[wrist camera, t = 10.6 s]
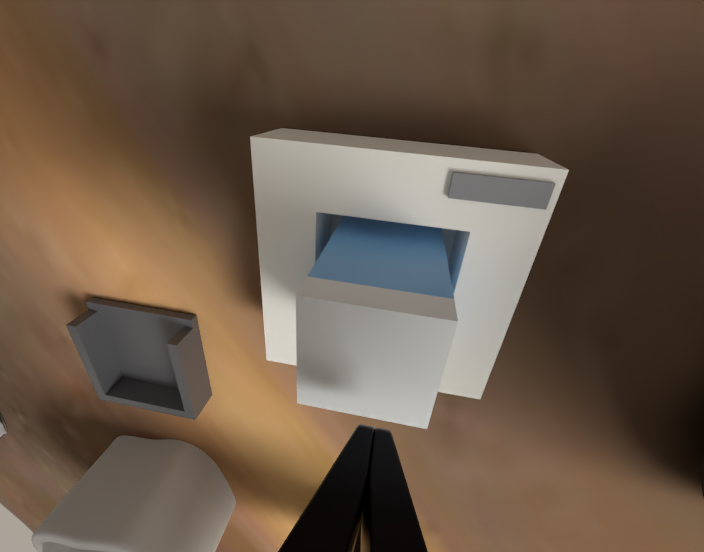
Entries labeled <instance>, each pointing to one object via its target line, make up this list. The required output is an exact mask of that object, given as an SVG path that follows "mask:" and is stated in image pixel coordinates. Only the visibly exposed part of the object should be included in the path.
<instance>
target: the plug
mask: <svg viewBox="0 0 704 552" xmlns="http://www.w3.org/2000/svg"><path fill="white" fill-rule="evenodd" d="M457 324H458V318H457V312H456V307H455V301H454V295H453V289H452V284H451V278H450V272H449V267H448V261H447V255H446V250H445V244H444V238H443V232H442V228H437V227H429V226H421V225H414V224H406V223H398V222H390V221H383V220H375V219H367V218H359V217H352V216H343V218H342V219H341V221H340V223H339V224H338V226H337V228H336V229H335V231H334V233H333V234H332V236H331V238H330V239H329V241H328V243H327V244H326V246H325V248H324V249H323V251H322V253H321V254H320V256H319V258H318V259H317V261H316V263H315V264H314V266H313V268H312V269H311V271H310V273H309V274H308V276H307V278H306V279H305V281H304V283H303V284H302V286H301V288H300V289H299V291H298V293H297V294H296V353H297V403H298V404H303V405H308V406H313V407H318V408H323V409H328V410H333V411H338V412H343V413H348V414H353V415H358V416H364V417H369V418H374V419H379V420H384V421H389V422H394V423H399V424H404V425H409V426H414V427H419V428H424V429H427V427H428V424H429V420H430V417H431V413H432V410H433V406H434V403H435V400H436V396H437V393H438V389H439V386H440V382H441V379H442V375H443V372H444V369H445V365H446V362H447V358H448V355H449V351H450V348H451V345H452V341H453V338H454V334H455V331H456V327H457Z"/></svg>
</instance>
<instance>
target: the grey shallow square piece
mask: <svg viewBox="0 0 704 552" xmlns="http://www.w3.org/2000/svg"><path fill="white" fill-rule="evenodd" d="M86 304H87V307H88V309H89V310H88V311H86V312H85V313H83V314H82V315H80V316H79V317H77V318H76V319H74V320H73V321H71V322H70V323H68V324H67V325H66V326H67V328H68V330H69V332H70V335H71V337H72V339H73V341H74V344H75V346H76V348H77V350H78V353H79V355H80V357H81V359H82V362H83V364H84V366H85V368H86V370H87V373H88V375H89V377H90V379H91V382H92V384H93V386H94V388H95V391H96V393H97V395H98V397H99V399H100V400H104V401H109V402H114V403H119V404H123V405H128V406H133V407H137V408H142V409H147V410H152V411H156V412H161V413H166V414H171V415H175V416H180V417H185V418H189V419H194V420H195V419H196V418H197V416H198V415H199V413H200V412H201V410H202V409H203V408H204V406H205V405H206V403H207V402H208V400H209V399H210V397H211V396H212V392H211V387H210V382H209V377H208V372H207V367H206V362H205V357H204V352H203V347H202V342H201V337H200V332H199V327H198V321H197V316H196V315H192V314H187V313H181V312H175V311H169V310H163V309H158V308H152V307H146V306H140V305H135V304H129V303H123V302H117V301H111V300H106V299H100V298H94V297H92V298H91V299H89V300H87V301H86Z"/></svg>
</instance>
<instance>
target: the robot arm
mask: <svg viewBox="0 0 704 552" xmlns="http://www.w3.org/2000/svg"><path fill="white" fill-rule="evenodd" d="M278 552H428V551H427V548H426V545H425V542H424V538H423V535H422V532H421V528H420V525H419V521H418V519H417V515H416V512H415V509H414V505H413V502H412V499H411V496H410V492H409V489H408V486H407V482H406V479H405V476H404V473H403V469H402V466H401V463H400V459H399V456H398V453H397V450H396V446H395V443H394V440H393V436H392V434H391V432H390V431H389V430H386V429H381V428H375V430H374V428H373V427H371V426H366V425H361V424H360V425H359V426H358V427H357V428H356V429H355V431H354V433H353V434H352V436H351V437H350V439H349V441H348V442H347V444H346V445H345V447H344V448H343V450H342V452H341V453H340V455H339V456H338V458H337V459H336V461H335V463H334V464H333V466H332V467H331V469H330V471H329V472H328V474H327V475H326V477H325V478H324V480H323V482H322V483H321V485H320V486H319V488H318V490H317V491H316V493H315V494H314V496H313V497H312V499H311V501H310V502H309V504H308V505H307V507H306V508H305V510H304V512H303V513H302V515H301V516H300V518H299V520H298V521H297V523H296V524H295V526H294V527H293V529H292V531H291V532H290V534H289V535H288V537H287V538H286V540H285V542H284V543H283V545H282V546H281V548H280V550H279V551H278Z"/></svg>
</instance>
